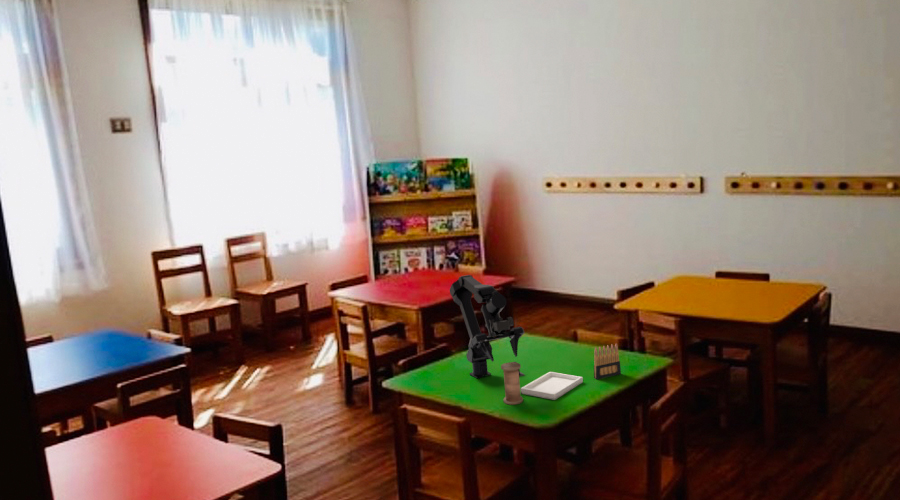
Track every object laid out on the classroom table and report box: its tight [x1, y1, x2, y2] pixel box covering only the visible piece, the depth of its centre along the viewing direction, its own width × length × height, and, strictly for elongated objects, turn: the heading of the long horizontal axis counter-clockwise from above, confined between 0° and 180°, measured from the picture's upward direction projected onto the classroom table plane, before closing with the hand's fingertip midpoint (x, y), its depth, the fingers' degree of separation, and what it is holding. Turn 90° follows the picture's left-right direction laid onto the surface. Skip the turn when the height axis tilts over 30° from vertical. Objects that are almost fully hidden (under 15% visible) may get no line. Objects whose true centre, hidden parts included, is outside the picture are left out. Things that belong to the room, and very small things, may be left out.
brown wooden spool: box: [500, 361, 524, 406], centre depth 250 cm, size 7×7×13 cm
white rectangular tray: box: [520, 371, 584, 401], centre depth 261 cm, size 20×14×2 cm
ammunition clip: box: [593, 342, 622, 380], centre depth 267 cm, size 11×2×12 cm, turn 111°
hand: (504, 358), depth 257 cm, fingers open, 9 cm apart
